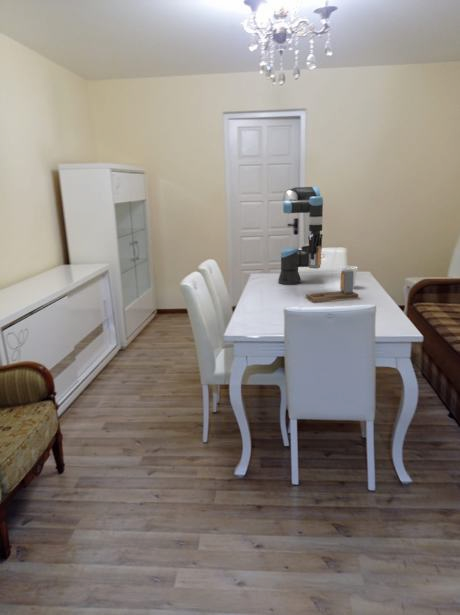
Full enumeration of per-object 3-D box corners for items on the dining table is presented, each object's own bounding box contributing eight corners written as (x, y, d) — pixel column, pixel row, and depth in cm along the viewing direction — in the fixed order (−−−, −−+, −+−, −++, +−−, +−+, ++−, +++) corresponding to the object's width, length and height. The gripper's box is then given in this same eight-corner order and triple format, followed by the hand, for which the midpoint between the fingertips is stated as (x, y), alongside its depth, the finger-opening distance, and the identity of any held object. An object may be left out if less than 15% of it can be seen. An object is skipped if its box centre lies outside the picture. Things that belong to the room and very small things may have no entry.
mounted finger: (352, 293, 252) (353, 271, 248) (343, 294, 251) (344, 272, 247) (349, 291, 256) (350, 270, 252) (339, 292, 254) (340, 270, 251)
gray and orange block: (312, 266, 259) (312, 245, 255) (321, 267, 255) (321, 245, 252) (308, 267, 256) (309, 245, 252) (317, 268, 252) (318, 246, 249)
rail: (306, 298, 254) (306, 294, 253) (349, 294, 259) (349, 290, 259) (313, 302, 244) (313, 298, 243) (358, 298, 250) (358, 294, 249)
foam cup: (355, 289, 270) (356, 269, 267) (340, 288, 274) (340, 268, 270) (357, 286, 278) (358, 266, 275) (342, 285, 282) (343, 265, 279)
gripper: (316, 222, 257) (316, 261, 264) (302, 225, 245) (302, 266, 251) (328, 222, 253) (327, 262, 259) (314, 225, 240) (313, 267, 246)
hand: (314, 264), depth 255 cm, fingers closed on gray and orange block, 4 cm apart
